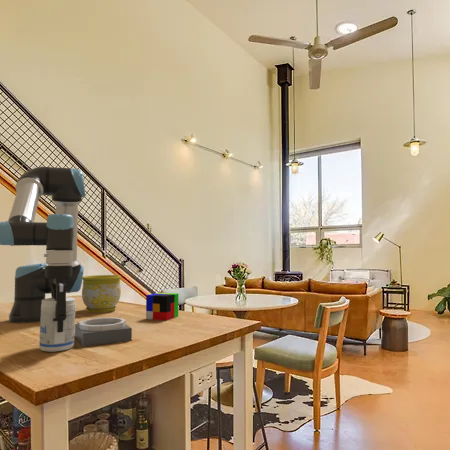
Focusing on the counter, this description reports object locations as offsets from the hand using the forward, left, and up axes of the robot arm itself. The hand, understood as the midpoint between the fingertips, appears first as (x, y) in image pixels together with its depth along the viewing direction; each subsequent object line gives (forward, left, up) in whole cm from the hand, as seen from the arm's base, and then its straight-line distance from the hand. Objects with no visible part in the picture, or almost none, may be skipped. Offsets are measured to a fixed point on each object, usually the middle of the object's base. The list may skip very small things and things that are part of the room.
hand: (57, 339), depth 112 cm
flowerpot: (-63, +26, -3) cm, 68 cm away
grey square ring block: (-6, +15, -3) cm, 16 cm away
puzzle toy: (-31, +45, -3) cm, 55 cm away
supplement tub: (0, 0, -3) cm, 3 cm away
